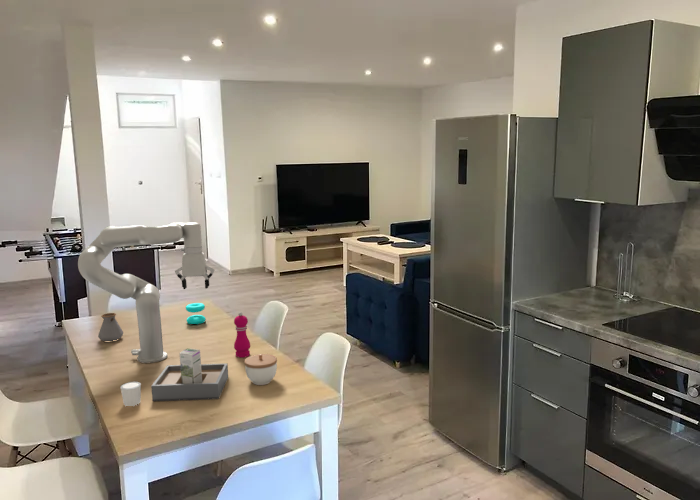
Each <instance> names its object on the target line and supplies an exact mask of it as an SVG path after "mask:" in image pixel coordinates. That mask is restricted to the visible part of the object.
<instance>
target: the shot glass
mask: <svg viewBox="0 0 700 500" xmlns="http://www.w3.org/2000/svg"><path fill="white" fill-rule="evenodd" d="M141 385H142V383H141V382H138V381H129V382H126V383H124V384H122V385H120V392H121V396H122V397H121V398H122V402H123V403H122V404H123V406H124V405H125V406H124V407H126V406H133V407H136V406H138V405H140V404H141V398H142V397H141V396H142V395H141V392H142V391H141V387H142V386H141ZM139 403H140V404H139ZM137 404H138V405H137ZM135 405H136V406H135Z"/></svg>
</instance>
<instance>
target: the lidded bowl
mask: <svg viewBox="0 0 700 500" xmlns="http://www.w3.org/2000/svg"><path fill="white" fill-rule="evenodd" d="M277 363H278V358H277V357H276V356H275V355H273V354H268V353H259V354H254V355H249V356H248V357H245V359H244V370H245V374H246V376H247V378H248V379H249V381H250V382H252V384H253V385H257V386H264V385H267V384H269V383H271V382H272V380H273V379H274V378H275V376H276V373H277V368H278V364H277Z"/></svg>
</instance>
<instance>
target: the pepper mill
mask: <svg viewBox="0 0 700 500" xmlns="http://www.w3.org/2000/svg"><path fill="white" fill-rule="evenodd" d="M248 321H249V319H248V317H247V316H246V315H243V312H241V311H240V312H238V315H237V316H236V317H235V318H234V320H233V324H234V325H235V331H236V336H235V337H236V338H235V341H234V344H233V349H234V350H235V357H236V358H243V359H244V358H248V357H250V356H251V354H250V353H251V352H250V348H251V342H250V340H249V337H248V335H247V329H248V326H247V325H248V323H249V322H248Z"/></svg>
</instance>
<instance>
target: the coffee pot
mask: <svg viewBox="0 0 700 500" xmlns="http://www.w3.org/2000/svg"><path fill="white" fill-rule="evenodd" d="M116 316H117V313H115V312H108V313H104V314H102V315H101V318H102V324H101V327H100V329H99V332H98V336H97V337H98V338H99V340H100V341H102V342H103V341H113V340H117V339H119V338H120V339H121V338H122V337H123V336H124V330H123V329H122V327H121V326H120V324H119V323H118V321H117V319H116ZM120 339H119V340H120ZM117 341H118V340H117Z"/></svg>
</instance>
